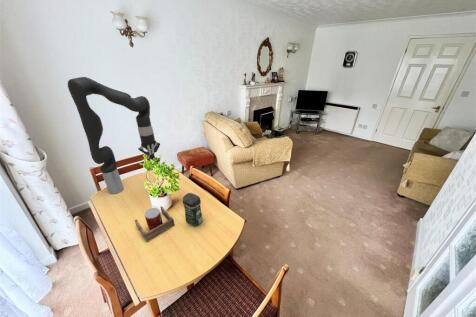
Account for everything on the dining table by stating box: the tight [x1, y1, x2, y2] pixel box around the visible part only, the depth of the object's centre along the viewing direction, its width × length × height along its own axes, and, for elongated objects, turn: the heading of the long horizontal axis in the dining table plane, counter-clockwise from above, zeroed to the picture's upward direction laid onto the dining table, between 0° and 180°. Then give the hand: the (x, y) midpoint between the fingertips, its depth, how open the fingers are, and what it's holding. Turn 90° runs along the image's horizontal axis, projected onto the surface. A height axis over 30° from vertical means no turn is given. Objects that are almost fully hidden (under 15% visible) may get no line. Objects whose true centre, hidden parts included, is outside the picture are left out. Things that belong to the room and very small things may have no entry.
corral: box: [134, 206, 175, 243], centre depth 111 cm, size 14×16×5 cm
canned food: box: [144, 207, 164, 231], centre depth 109 cm, size 8×8×11 cm
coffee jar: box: [182, 192, 204, 227], centre depth 111 cm, size 10×8×19 cm
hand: (152, 159), depth 121 cm, fingers closed
